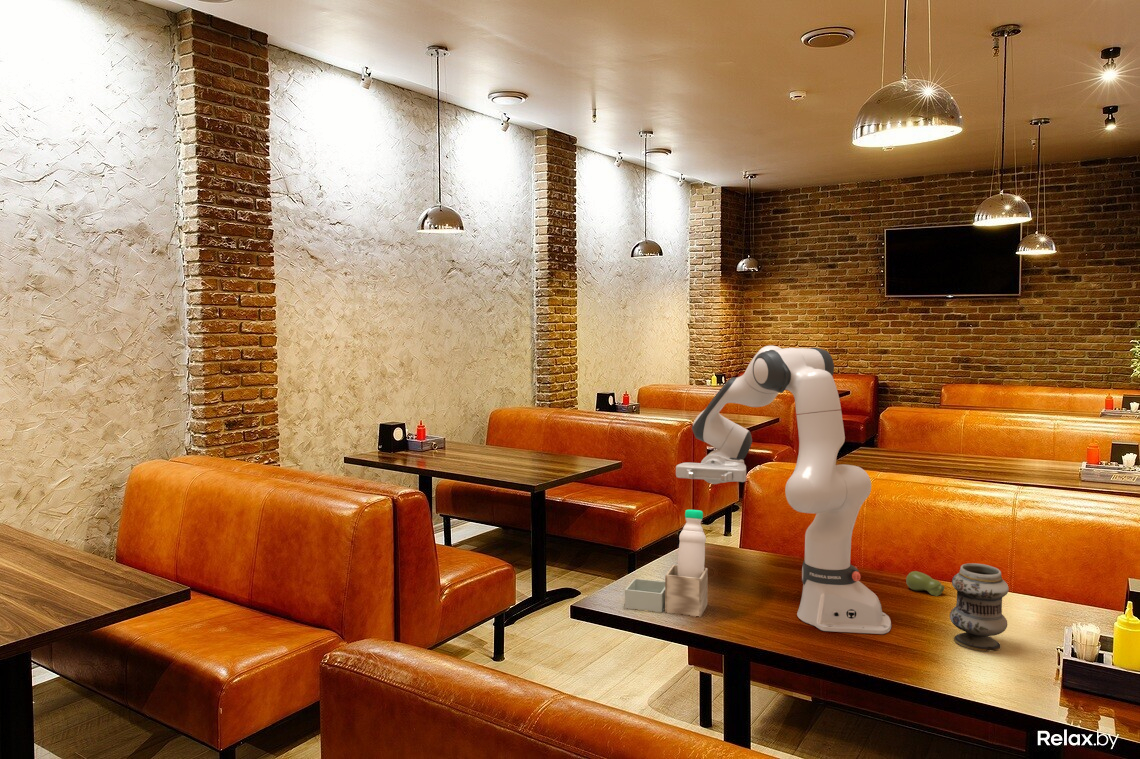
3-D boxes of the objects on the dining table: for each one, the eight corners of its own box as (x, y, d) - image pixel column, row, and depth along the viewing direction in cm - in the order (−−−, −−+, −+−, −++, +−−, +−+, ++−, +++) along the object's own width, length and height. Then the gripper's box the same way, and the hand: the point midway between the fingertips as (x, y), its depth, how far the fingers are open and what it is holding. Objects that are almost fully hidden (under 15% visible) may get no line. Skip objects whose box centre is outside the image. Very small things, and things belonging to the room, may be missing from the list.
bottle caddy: (670, 600, 216) (670, 582, 216) (661, 612, 207) (661, 593, 206) (634, 596, 219) (634, 578, 219) (624, 608, 210) (624, 589, 210)
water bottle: (698, 605, 212) (703, 510, 216) (705, 608, 205) (710, 511, 209) (672, 603, 212) (678, 508, 216) (678, 606, 205) (684, 508, 209)
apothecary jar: (976, 656, 179) (978, 578, 178) (937, 636, 190) (939, 562, 189) (1018, 650, 182) (1022, 573, 181) (978, 630, 194) (981, 558, 192)
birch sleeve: (707, 604, 212) (707, 568, 212) (700, 617, 203) (701, 578, 203) (672, 600, 215) (672, 564, 215) (665, 612, 207) (665, 575, 206)
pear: (912, 566, 227) (948, 579, 220) (908, 583, 228) (944, 597, 221) (905, 570, 223) (941, 584, 216) (901, 588, 224) (937, 602, 217)
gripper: (680, 456, 240) (670, 463, 227) (749, 459, 233) (743, 468, 220) (680, 476, 240) (670, 485, 227) (749, 481, 233) (742, 490, 220)
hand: (706, 477), depth 224 cm, fingers open, 8 cm apart
